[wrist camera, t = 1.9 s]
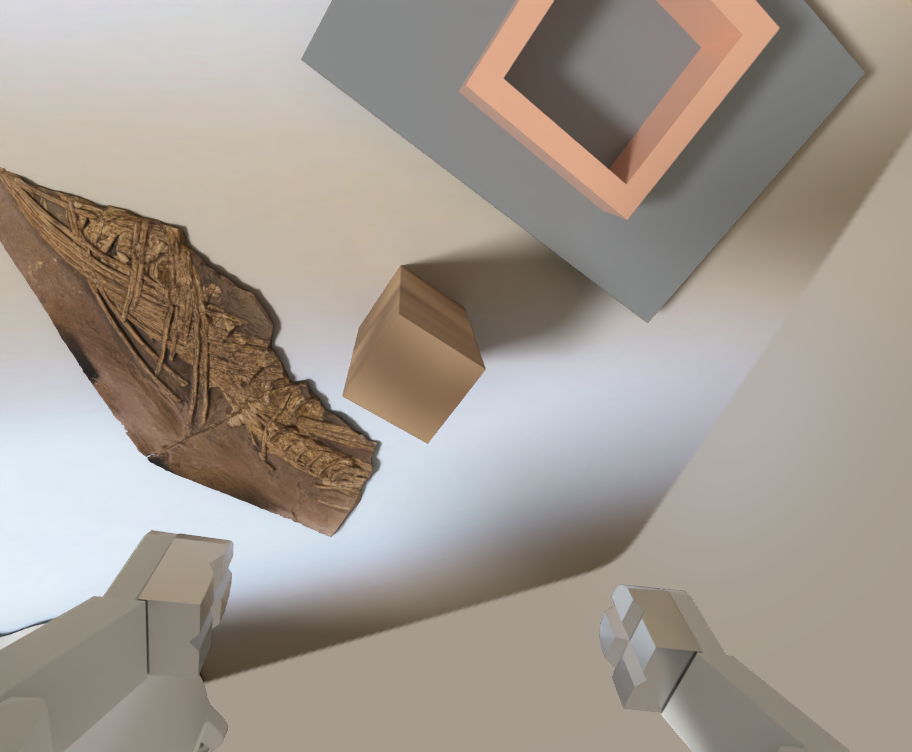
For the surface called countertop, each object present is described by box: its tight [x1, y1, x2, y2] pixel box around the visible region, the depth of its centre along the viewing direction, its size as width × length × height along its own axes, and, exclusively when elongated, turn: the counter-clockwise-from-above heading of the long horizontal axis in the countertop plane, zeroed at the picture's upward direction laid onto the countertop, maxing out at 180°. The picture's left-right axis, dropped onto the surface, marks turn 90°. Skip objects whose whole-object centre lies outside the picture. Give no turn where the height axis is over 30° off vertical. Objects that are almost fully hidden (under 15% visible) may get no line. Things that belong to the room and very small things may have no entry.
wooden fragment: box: [0, 167, 377, 537], centre depth 28 cm, size 26×11×1 cm, turn 31°
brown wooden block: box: [343, 266, 486, 444], centre depth 24 cm, size 4×4×8 cm
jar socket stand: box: [301, 0, 865, 323], centre depth 21 cm, size 14×20×4 cm
